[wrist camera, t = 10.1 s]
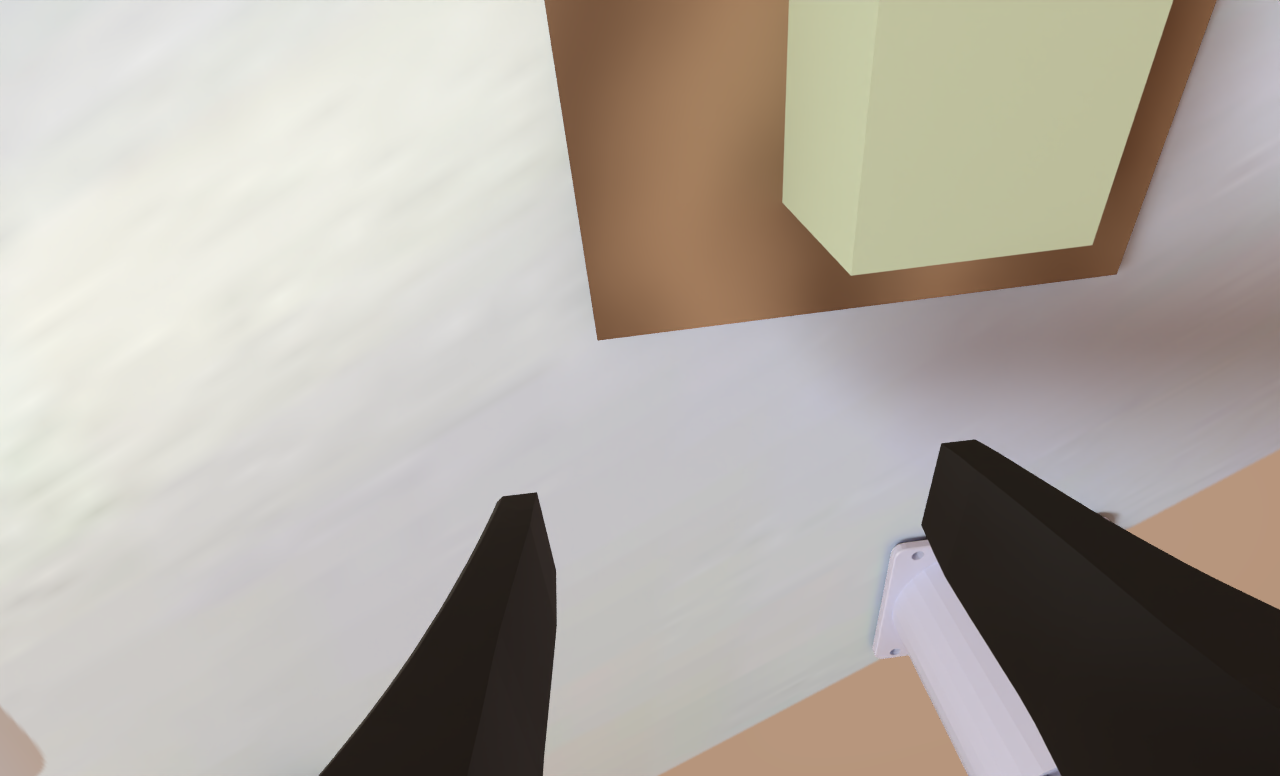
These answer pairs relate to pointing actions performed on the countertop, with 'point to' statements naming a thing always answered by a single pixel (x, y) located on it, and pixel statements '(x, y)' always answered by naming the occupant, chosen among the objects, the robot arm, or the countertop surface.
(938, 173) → the sage block
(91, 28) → the countertop surface
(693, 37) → the walnut board
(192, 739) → the countertop surface
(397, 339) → the countertop surface
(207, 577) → the countertop surface
